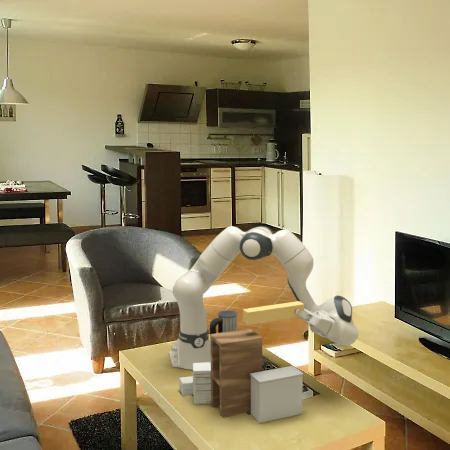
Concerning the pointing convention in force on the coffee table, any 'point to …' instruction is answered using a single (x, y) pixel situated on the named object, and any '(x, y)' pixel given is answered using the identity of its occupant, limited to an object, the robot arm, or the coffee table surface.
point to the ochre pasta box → (271, 312)
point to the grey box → (276, 393)
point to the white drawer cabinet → (202, 383)
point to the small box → (186, 385)
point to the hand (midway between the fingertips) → (292, 308)
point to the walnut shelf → (234, 369)
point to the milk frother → (224, 322)
